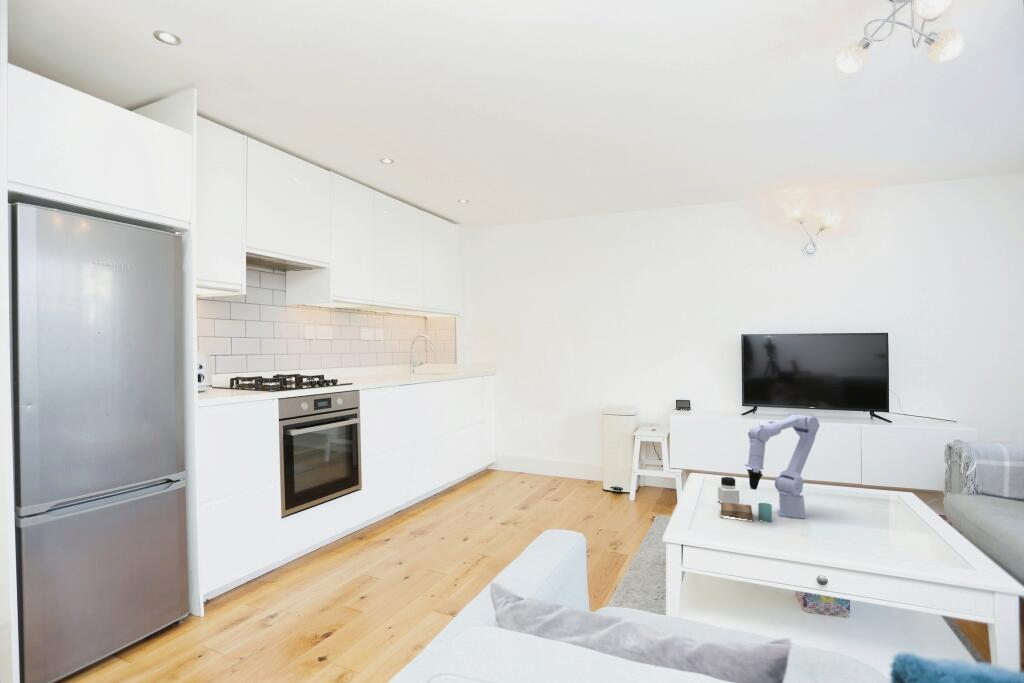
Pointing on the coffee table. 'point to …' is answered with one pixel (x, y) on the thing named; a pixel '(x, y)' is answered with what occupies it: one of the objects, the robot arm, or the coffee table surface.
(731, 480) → the medicine bottle
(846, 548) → the coffee table surface
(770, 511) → the teal tin
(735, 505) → the walnut block
